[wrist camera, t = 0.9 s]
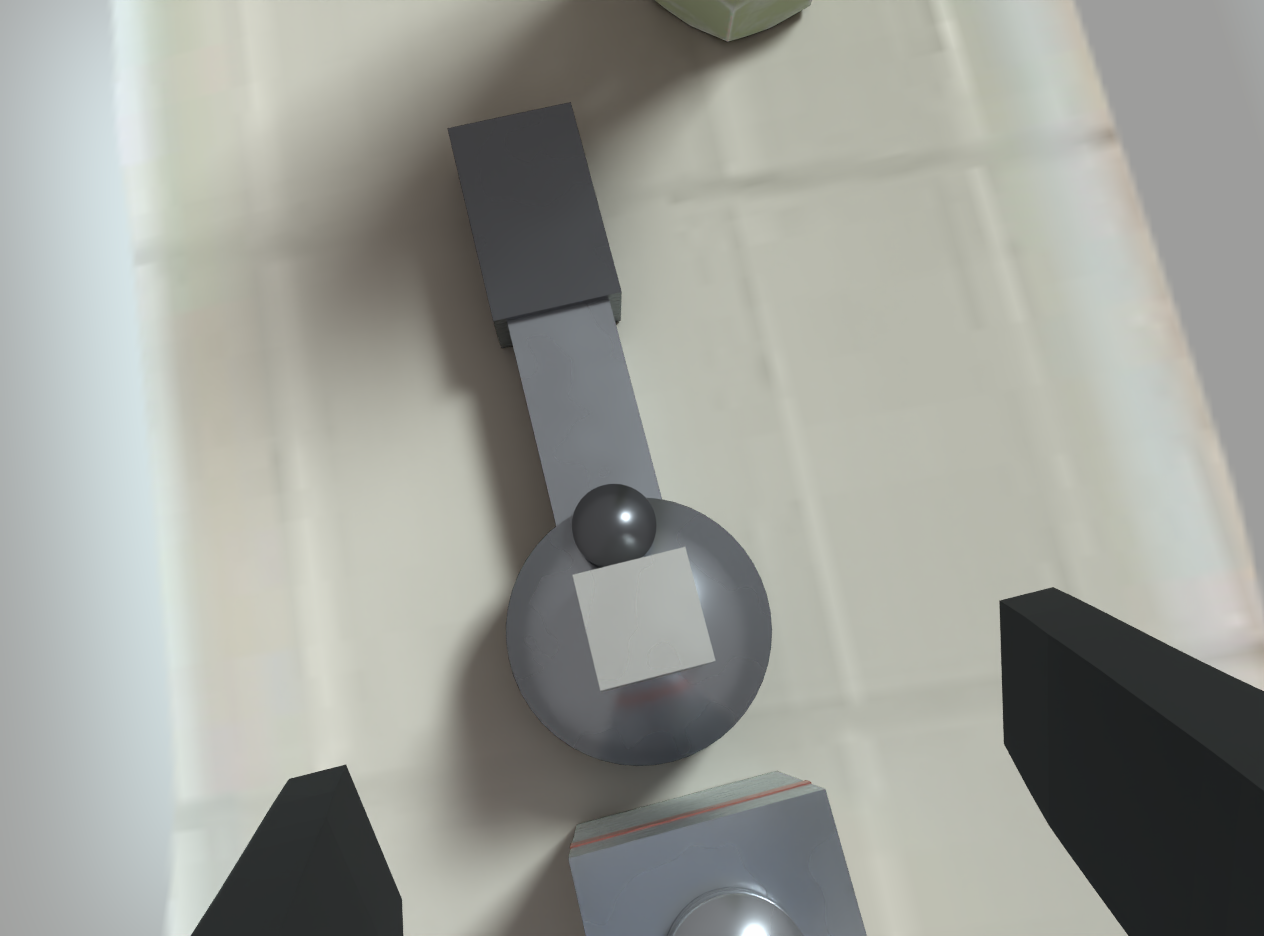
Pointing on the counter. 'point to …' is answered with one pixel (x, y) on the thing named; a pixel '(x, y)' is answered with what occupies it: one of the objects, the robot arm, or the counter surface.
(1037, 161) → the counter surface
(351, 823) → the robot arm
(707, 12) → the grenade
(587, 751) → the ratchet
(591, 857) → the striped cube with knob
